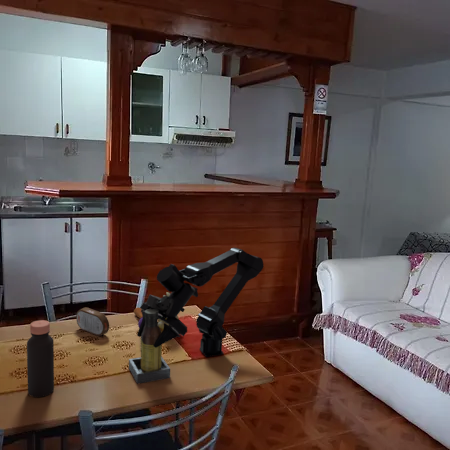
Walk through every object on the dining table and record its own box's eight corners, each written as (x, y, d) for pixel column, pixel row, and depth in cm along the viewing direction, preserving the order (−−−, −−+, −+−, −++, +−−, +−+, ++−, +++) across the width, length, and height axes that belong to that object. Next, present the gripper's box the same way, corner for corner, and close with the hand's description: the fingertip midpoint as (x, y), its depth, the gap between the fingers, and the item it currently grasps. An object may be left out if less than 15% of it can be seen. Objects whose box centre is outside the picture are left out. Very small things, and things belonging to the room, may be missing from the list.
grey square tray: (159, 363, 150) (160, 354, 150) (170, 377, 141) (170, 368, 141) (128, 368, 146) (128, 359, 146) (137, 383, 137) (137, 374, 137)
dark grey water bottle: (28, 399, 126) (26, 329, 122) (27, 387, 132) (26, 320, 128) (54, 395, 129) (54, 326, 125) (53, 383, 135) (52, 317, 131)
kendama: (146, 305, 191) (157, 319, 172) (143, 319, 191) (154, 335, 172) (132, 303, 189) (141, 317, 170) (129, 317, 189) (138, 333, 170)
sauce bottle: (150, 364, 148) (152, 304, 144) (165, 371, 144) (167, 310, 141) (135, 372, 142) (137, 310, 139) (150, 379, 139) (152, 315, 135)
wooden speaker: (109, 336, 168) (110, 314, 167) (103, 339, 166) (103, 316, 164) (81, 325, 176) (81, 304, 175) (74, 328, 173) (74, 306, 172)
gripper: (146, 277, 148) (114, 317, 143) (180, 293, 135) (146, 339, 129) (166, 296, 155) (136, 335, 150) (201, 314, 141) (169, 358, 136)
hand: (146, 341), depth 141 cm, fingers open, 9 cm apart
